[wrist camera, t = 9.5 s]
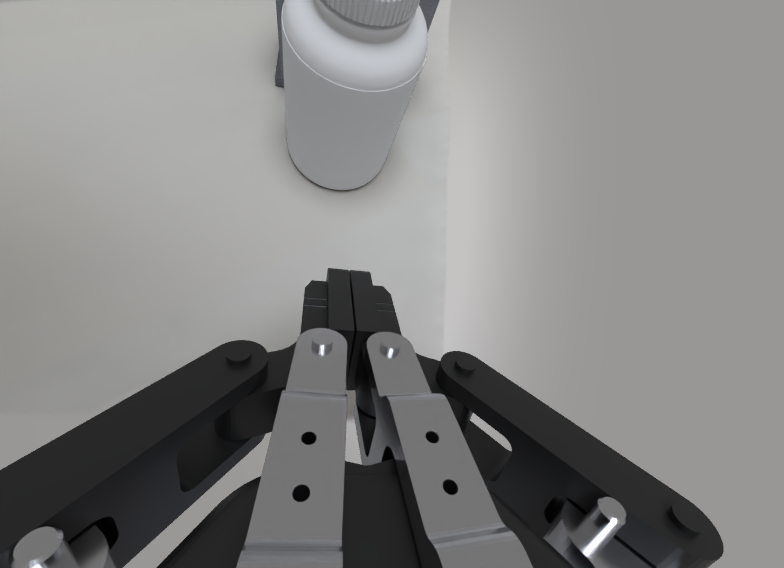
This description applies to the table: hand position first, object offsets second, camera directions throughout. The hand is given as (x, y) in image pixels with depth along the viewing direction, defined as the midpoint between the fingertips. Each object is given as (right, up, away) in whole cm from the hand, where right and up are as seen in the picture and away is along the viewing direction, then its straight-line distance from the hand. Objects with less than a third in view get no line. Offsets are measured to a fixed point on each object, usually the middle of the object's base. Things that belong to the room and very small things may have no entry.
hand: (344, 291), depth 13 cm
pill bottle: (-3, +11, +17) cm, 20 cm away
